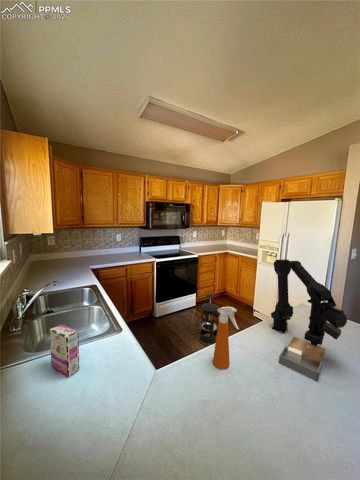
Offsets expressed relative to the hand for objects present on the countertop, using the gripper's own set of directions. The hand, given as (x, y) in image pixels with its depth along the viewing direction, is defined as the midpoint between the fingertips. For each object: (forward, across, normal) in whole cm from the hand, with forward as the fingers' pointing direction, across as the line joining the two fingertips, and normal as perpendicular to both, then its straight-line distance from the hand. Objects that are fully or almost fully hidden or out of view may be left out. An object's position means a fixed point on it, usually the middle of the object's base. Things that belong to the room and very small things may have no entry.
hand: (314, 347), depth 91 cm
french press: (+4, -23, +42) cm, 48 cm away
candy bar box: (+3, -80, +72) cm, 108 cm away
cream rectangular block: (+1, -10, +6) cm, 11 cm away
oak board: (+4, -1, +3) cm, 5 cm away
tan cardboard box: (+1, -4, 0) cm, 4 cm away
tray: (+4, -12, +3) cm, 13 cm away
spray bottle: (+4, -34, +26) cm, 44 cm away
